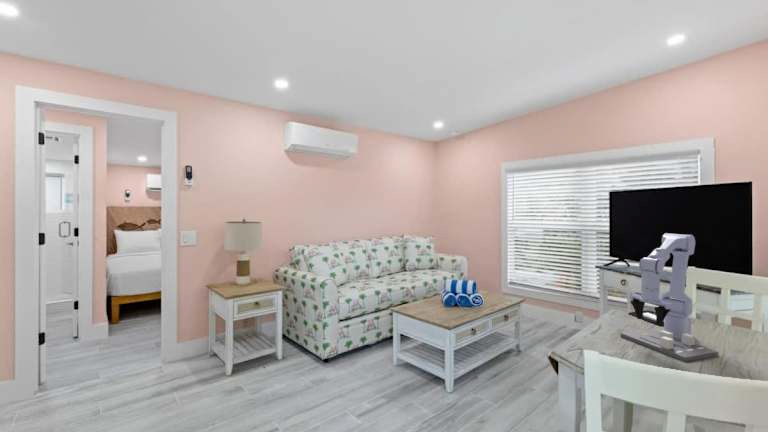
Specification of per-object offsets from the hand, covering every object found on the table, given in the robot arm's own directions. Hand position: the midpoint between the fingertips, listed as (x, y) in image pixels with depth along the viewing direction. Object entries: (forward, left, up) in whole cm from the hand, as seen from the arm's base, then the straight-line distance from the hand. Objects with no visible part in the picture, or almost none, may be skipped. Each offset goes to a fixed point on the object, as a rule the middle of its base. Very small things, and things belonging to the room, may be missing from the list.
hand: (649, 321), depth 135 cm
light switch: (-36, -22, -11) cm, 44 cm away
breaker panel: (-7, +2, -10) cm, 12 cm away
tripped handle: (-7, +2, -8) cm, 11 cm away
